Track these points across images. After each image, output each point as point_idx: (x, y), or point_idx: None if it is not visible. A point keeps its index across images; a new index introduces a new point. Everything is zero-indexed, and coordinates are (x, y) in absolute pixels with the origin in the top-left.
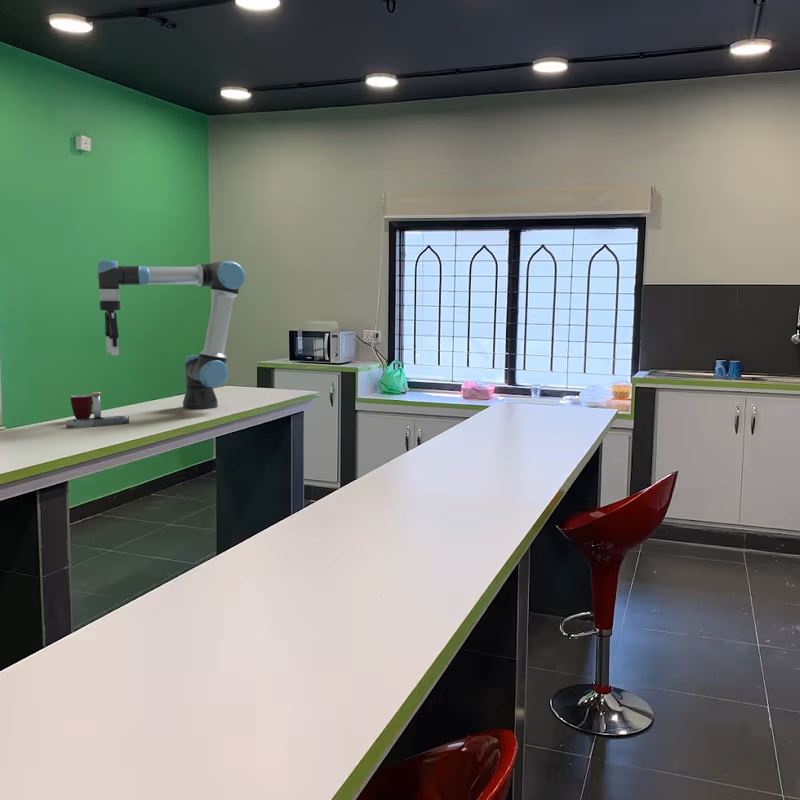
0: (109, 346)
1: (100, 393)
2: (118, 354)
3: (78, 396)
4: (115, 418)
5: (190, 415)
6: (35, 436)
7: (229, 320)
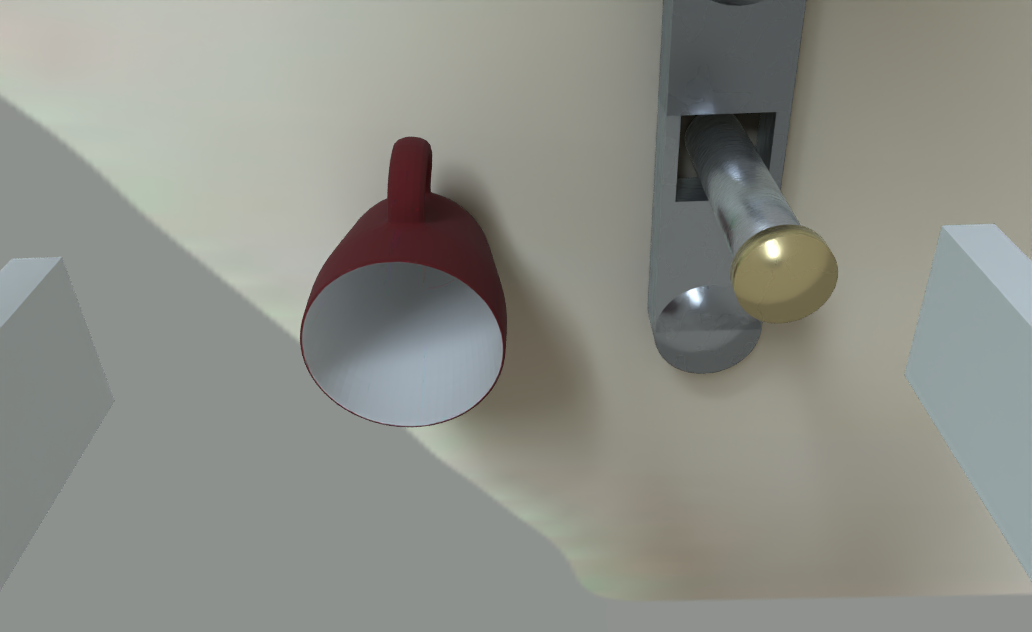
0: (24, 456)
1: (813, 234)
2: (996, 238)
3: (313, 359)
4: (804, 7)
5: None
6: (919, 491)
7: None
